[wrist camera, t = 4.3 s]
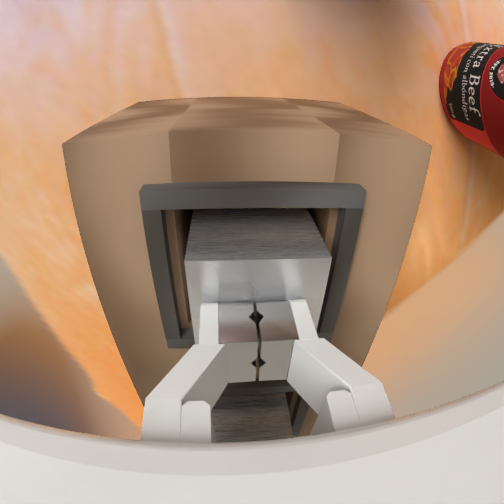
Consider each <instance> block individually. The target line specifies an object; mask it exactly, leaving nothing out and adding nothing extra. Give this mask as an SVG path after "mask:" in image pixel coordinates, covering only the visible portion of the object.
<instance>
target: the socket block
mask: <svg viewBox="0 0 504 504" xmlns="http://www.w3.org/2000/svg"><path fill="white" fill-rule="evenodd" d="M62 147H63V153H64V159H65V165H66V171H67V177H68V182H69V187H70V192H71V197H72V201H73V206H74V210H75V215H76V219H77V223H78V227H79V231H80V235H81V239H82V243H83V246H84V250H85V254H86V257H87V261H88V264H89V267H90V271H91V274H92V277H93V281H94V284H95V287H96V290H97V293H98V296H99V299H100V302H101V305H102V308H103V310H104V313H105V316H106V319H107V321H108V324H109V327H110V329H111V332H112V335H113V337H114V340H115V342H116V345H117V347H118V350H119V352H120V355H121V357H122V359H123V362H124V364H125V367H126V369H127V371H128V373H129V376H130V378H131V380H132V382H133V385H134V387H135V389H136V391H137V393H138V395H139V397H140V399H141V401H142V404H143V406H144V407H145V399H146V397H147V396H148V395H149V394H150V393H151V392H152V391H153V389H154V388H155V387H156V386H157V385H158V384H159V383H160V382H161V381H162V380H163V378H164V377H165V376H166V375H167V374H168V373H169V372H170V371H171V369H172V368H173V367H174V366H175V365H176V364H177V363H178V362H179V361H180V359H181V358H182V357H183V356H184V355H185V354H186V353H187V352H188V350H189V349H190V348H191V347H192V346H193V345H195V339H194V333H193V326H192V319H191V311H190V304H189V296H188V288H187V280H186V272H185V263H184V260H185V254H186V248H187V242H188V237H189V231H190V225H191V220H192V214H193V209H220V208H307V210H308V211H309V213H310V215H311V217H312V219H313V221H314V223H315V225H316V227H317V229H318V231H319V233H320V235H321V237H322V239H323V241H324V243H325V245H326V247H327V249H328V251H329V253H330V255H331V257H332V261H331V266H330V271H329V276H328V281H327V285H326V290H325V295H324V299H323V304H322V308H321V313H320V317H319V321H318V326H317V330H316V331H317V334H318V337H319V338H324V339H326V340H327V341H328V342H330V343H331V344H332V345H333V346H335V347H336V348H337V349H339V350H340V351H341V352H343V353H344V354H345V355H346V356H348V357H349V358H350V359H352V360H353V361H354V362H356V363H357V364H358V365H359V366H361V367H362V365H363V362H364V361H365V358H366V356H367V354H368V352H369V349H370V347H371V345H372V342H373V340H374V337H375V335H376V333H377V330H378V328H379V325H380V323H381V320H382V318H383V315H384V313H385V310H386V307H387V305H388V302H389V299H390V297H391V294H392V291H393V288H394V285H395V283H396V280H397V277H398V274H399V271H400V268H401V265H402V262H403V259H404V256H405V252H406V249H407V246H408V243H409V239H410V236H411V233H412V229H413V226H414V222H415V218H416V215H417V211H418V207H419V203H420V199H421V195H422V191H423V187H424V183H425V178H426V174H427V169H428V164H429V160H430V155H431V149H432V146H431V145H430V144H428V143H426V142H424V141H422V140H420V139H418V138H416V137H414V136H412V135H410V134H408V133H406V132H404V131H402V130H400V129H398V128H396V127H394V126H392V125H390V124H387V123H385V122H383V121H381V120H379V119H376V118H374V117H372V116H370V115H367V114H365V113H363V112H360V111H358V110H355V109H353V108H351V107H348V106H346V105H343V104H341V103H335V102H325V101H314V100H302V99H286V98H262V97H208V98H185V99H169V100H156V101H145V102H138V103H136V104H134V105H132V106H130V107H128V108H126V109H124V110H122V111H120V112H118V113H116V114H114V115H112V116H110V117H108V118H106V119H104V120H102V121H101V122H99V123H97V124H95V125H93V126H91V127H90V128H88V129H86V130H84V131H83V132H81V133H79V134H77V135H76V136H74V137H72V138H71V139H69V140H67V141H66V142H64V143H63V144H62ZM255 360H256V363H257V358H256V359H255ZM279 392H286V398H287V404H288V409H289V415H290V421H291V427H292V432H293V437H301V436H309V435H310V433H311V431H312V429H313V427H314V424H315V422H316V420H317V417H318V414H317V413H316V412H315V411H314V410H313V409H312V408H311V407H310V406H309V404H308V403H307V402H306V401H305V400H304V399H303V398H302V397H301V396H300V395H299V394H298V392H297V391H296V390H295V389H294V388H293V387H292V386H291V385H290V384H289V383H288V381H287V379H285V380H266V381H259V378H258V371H257V364H256V380H255V381H249V382H235V383H227V386H226V387H225V389H224V391H223V392H222V394H221V395H247V394H265V393H279Z"/></svg>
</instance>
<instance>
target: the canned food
mask: <svg viewBox="0 0 504 504" xmlns="http://www.w3.org/2000/svg"><path fill="white" fill-rule="evenodd" d="M439 88H440V97H441V100H442V104H443V107H444V110H445V112H446V115H447V116H448V118H449V120H450V121H451V123H452V124H453V125H454V126H455V127H456V129H457V130H458V131H459V132H460V133H461V134H462V135H464V136H465V137H466V138H467V139H469V140H471V141H473V142H475V143H477V144H479V145H481V146H483V147H485V148H487V149H489V150H491V151H493V152H495V153H496V154H498V155H500V156H502V157H504V45H497V44H488V43H478V42H469V43H464V44H462V45H460V46H458V47H456V48H454V49H453V50H452V51H450V52H449V53H448V55H447V56H446V58H445V60H444V62H443V65H442V67H441V72H440V80H439Z"/></svg>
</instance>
